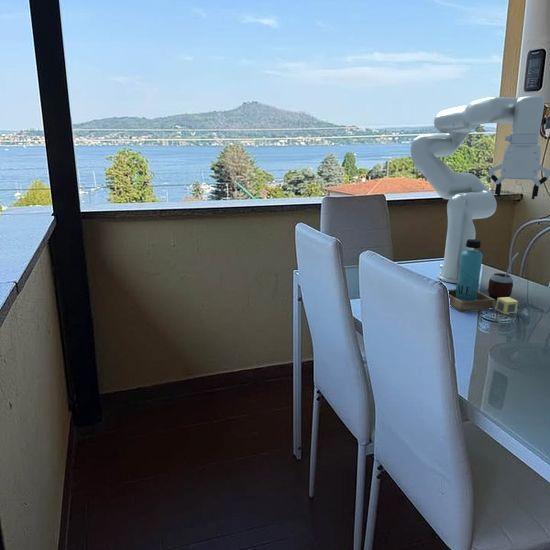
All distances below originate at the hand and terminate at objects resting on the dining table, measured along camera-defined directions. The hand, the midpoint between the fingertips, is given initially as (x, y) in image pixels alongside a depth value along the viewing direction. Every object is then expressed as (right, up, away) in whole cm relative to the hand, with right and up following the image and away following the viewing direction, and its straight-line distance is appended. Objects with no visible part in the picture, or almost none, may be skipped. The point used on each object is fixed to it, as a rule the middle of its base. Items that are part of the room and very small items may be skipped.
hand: (515, 197), depth 143 cm
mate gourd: (-2, -32, +7) cm, 33 cm away
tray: (-15, -33, +2) cm, 36 cm away
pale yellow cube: (-5, -35, -4) cm, 36 cm away
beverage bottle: (-15, -33, +2) cm, 36 cm away
